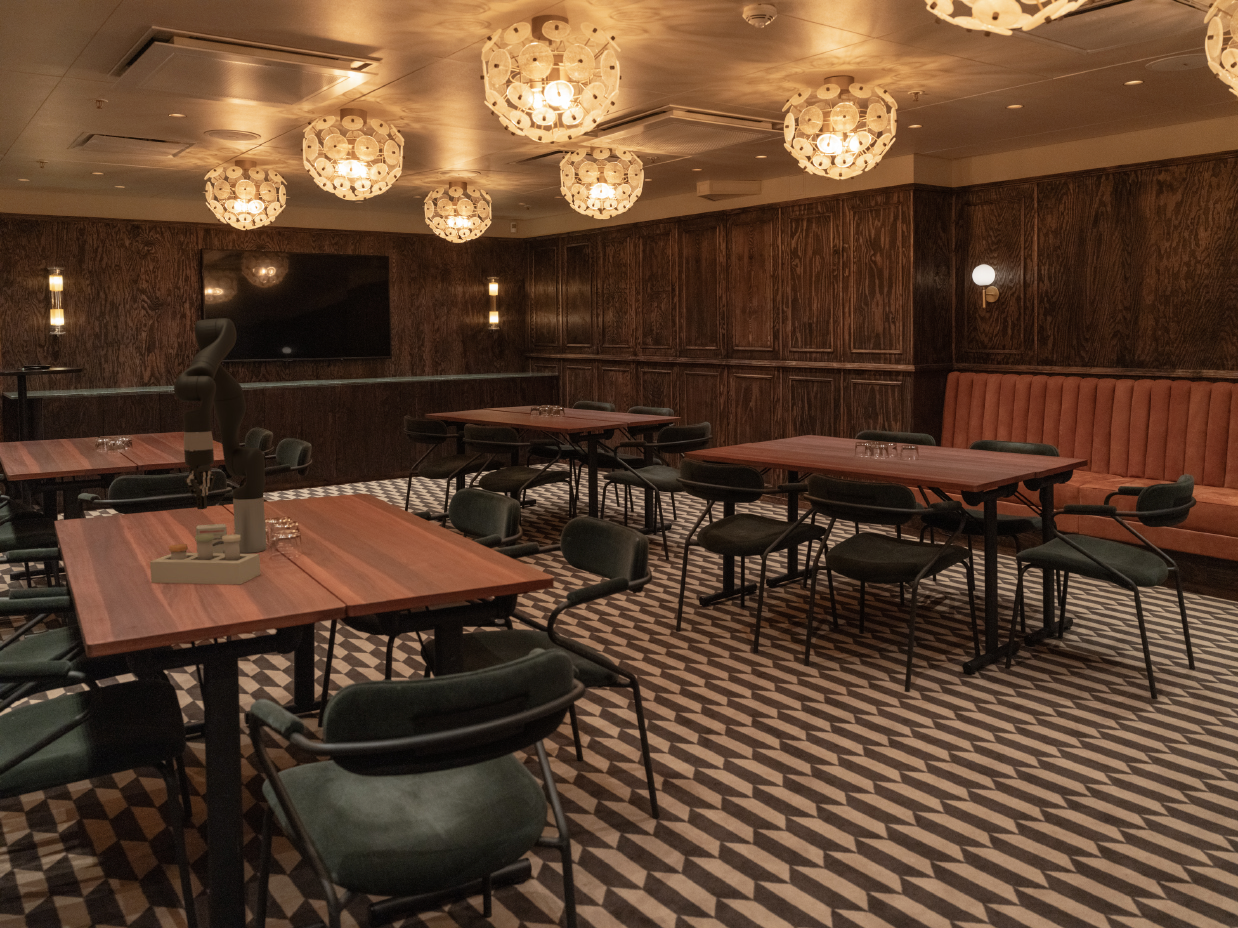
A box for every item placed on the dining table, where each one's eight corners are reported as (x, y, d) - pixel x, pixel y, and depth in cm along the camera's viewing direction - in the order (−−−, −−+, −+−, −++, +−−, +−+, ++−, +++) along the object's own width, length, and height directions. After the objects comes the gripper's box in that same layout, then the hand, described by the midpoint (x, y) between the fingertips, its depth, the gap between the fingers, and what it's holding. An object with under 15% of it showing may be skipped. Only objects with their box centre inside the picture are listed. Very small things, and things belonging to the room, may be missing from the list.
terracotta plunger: (176, 571, 282) (174, 543, 281) (192, 572, 281) (190, 544, 280) (167, 575, 277) (165, 547, 276) (183, 576, 277) (181, 547, 276)
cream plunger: (228, 562, 280) (227, 534, 279) (244, 562, 279) (243, 534, 278) (220, 566, 275) (218, 537, 274) (236, 566, 275) (235, 537, 274)
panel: (175, 572, 286) (174, 552, 285) (260, 574, 283) (259, 554, 282) (151, 582, 274) (150, 561, 273) (239, 584, 271) (238, 563, 270)
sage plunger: (202, 561, 281) (200, 533, 280) (218, 562, 280) (216, 534, 279) (193, 565, 276) (191, 537, 275) (209, 566, 275) (207, 537, 274)
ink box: (197, 567, 293) (195, 528, 292) (197, 563, 298) (195, 525, 296) (228, 564, 297) (226, 525, 295) (227, 561, 301) (225, 523, 300)
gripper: (198, 445, 281) (202, 505, 283) (172, 450, 268) (176, 512, 270) (223, 445, 280) (226, 505, 282) (198, 450, 267) (202, 513, 269)
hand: (202, 508), depth 276 cm, fingers closed
